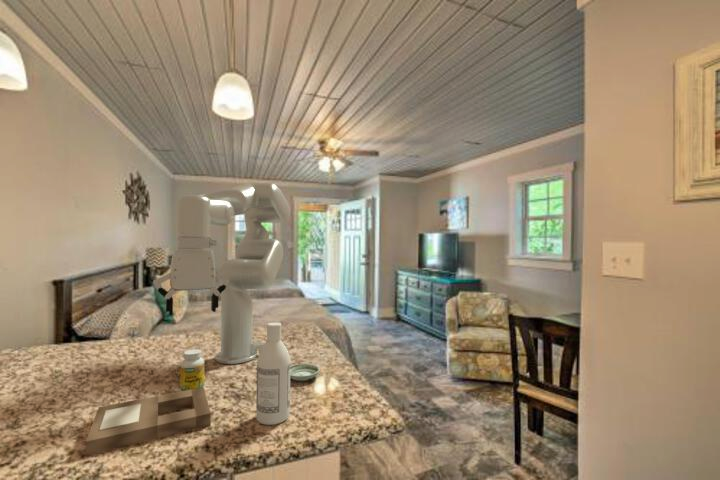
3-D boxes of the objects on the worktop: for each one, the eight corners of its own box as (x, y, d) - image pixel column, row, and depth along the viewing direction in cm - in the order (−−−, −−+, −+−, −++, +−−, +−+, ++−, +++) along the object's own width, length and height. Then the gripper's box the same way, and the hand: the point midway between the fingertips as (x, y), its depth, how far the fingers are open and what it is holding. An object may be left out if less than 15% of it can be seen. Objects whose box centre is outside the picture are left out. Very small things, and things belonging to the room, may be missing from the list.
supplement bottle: (202, 383, 89) (202, 347, 89) (205, 391, 84) (206, 352, 84) (179, 388, 86) (179, 350, 86) (181, 396, 81) (182, 356, 81)
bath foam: (276, 406, 77) (277, 318, 77) (296, 416, 72) (297, 323, 73) (249, 418, 72) (250, 324, 72) (268, 430, 67) (270, 329, 67)
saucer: (326, 374, 96) (326, 366, 96) (307, 388, 87) (307, 378, 87) (298, 369, 100) (298, 361, 100) (277, 381, 91) (277, 372, 91)
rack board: (203, 397, 81) (203, 386, 81) (210, 425, 69) (210, 412, 69) (98, 418, 71) (99, 406, 71) (85, 456, 58) (85, 440, 58)
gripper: (227, 244, 92) (226, 307, 92) (154, 244, 84) (152, 313, 84) (232, 245, 86) (231, 312, 86) (153, 244, 77) (151, 319, 77)
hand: (192, 312), depth 85 cm, fingers open, 9 cm apart
